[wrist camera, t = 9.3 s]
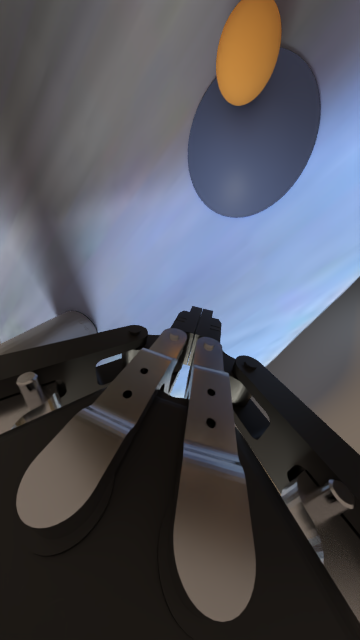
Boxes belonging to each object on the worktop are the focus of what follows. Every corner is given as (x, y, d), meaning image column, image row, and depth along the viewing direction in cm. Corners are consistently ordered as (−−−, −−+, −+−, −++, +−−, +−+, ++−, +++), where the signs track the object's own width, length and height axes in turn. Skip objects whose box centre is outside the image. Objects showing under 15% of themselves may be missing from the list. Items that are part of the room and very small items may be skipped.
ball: (228, 41, 12) (247, -65, 10) (202, 108, 16) (213, 39, 15) (285, 77, 13) (307, -14, 12) (246, 129, 18) (259, 68, 16)
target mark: (206, 234, 23) (206, 234, 23) (172, 109, 18) (171, 107, 18) (322, 186, 18) (322, 186, 18) (315, 0, 13) (316, -3, 13)
